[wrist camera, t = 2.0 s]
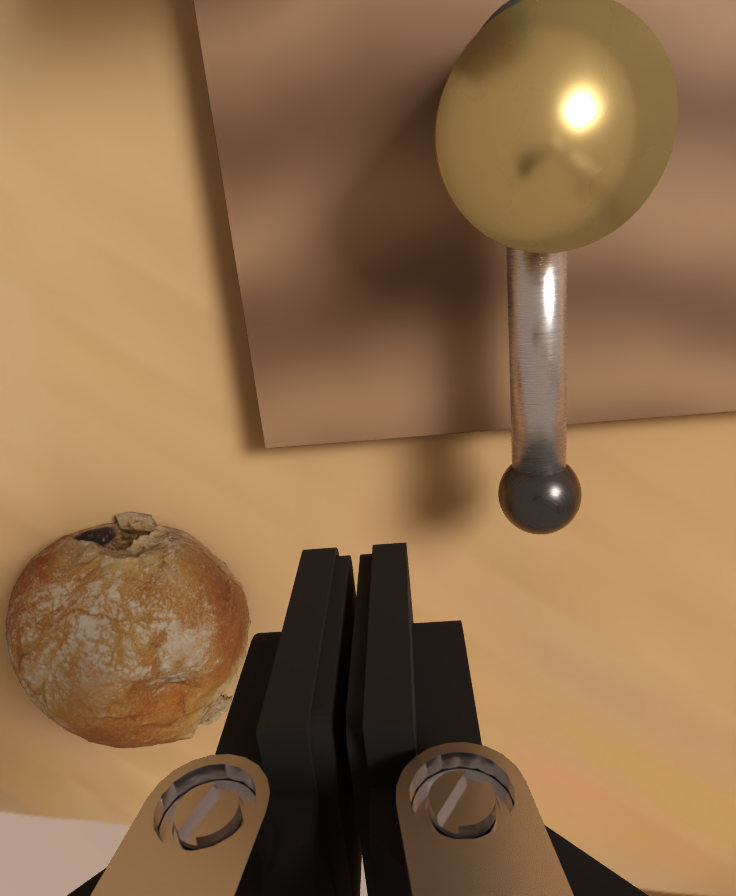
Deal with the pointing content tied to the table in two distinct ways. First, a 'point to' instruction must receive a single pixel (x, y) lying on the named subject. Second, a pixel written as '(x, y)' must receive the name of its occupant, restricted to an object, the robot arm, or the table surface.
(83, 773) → the table surface
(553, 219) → the lever
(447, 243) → the stand
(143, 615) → the bread roll
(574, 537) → the table surface
